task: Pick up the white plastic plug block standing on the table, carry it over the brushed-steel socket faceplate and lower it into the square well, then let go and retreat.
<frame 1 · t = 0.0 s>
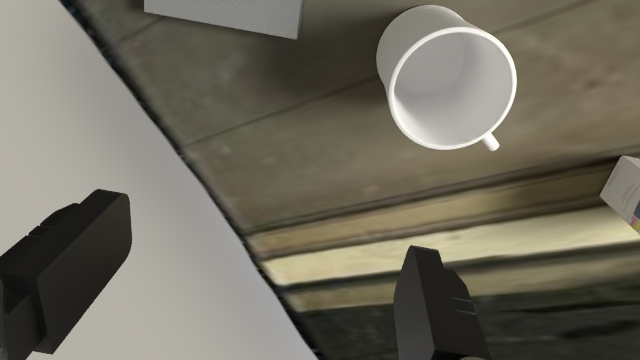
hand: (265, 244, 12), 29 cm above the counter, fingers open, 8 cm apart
mug: (432, 70, 38), on the counter
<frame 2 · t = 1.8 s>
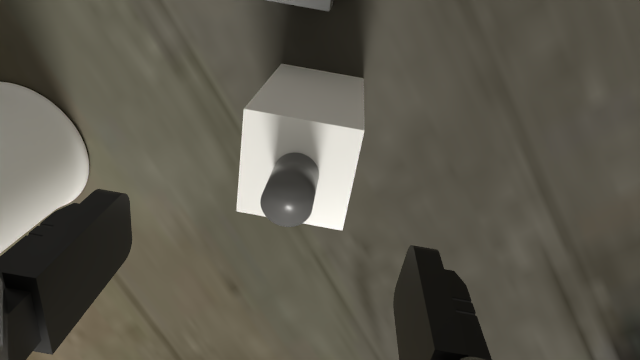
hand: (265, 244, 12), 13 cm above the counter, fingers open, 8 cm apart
mug: (12, 160, 27), on the counter
plug: (316, 110, 23), on the counter
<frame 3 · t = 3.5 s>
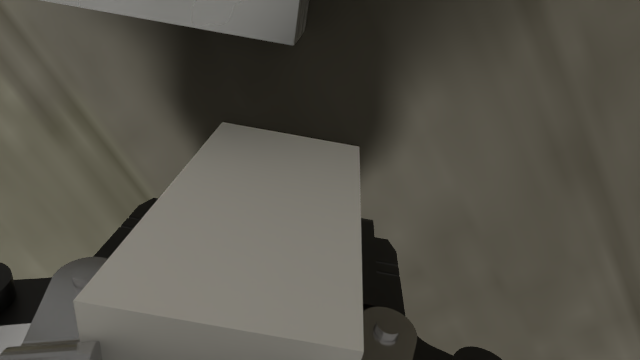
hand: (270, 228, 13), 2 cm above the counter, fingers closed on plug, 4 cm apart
plug: (282, 193, 14), on the counter, touching gripper
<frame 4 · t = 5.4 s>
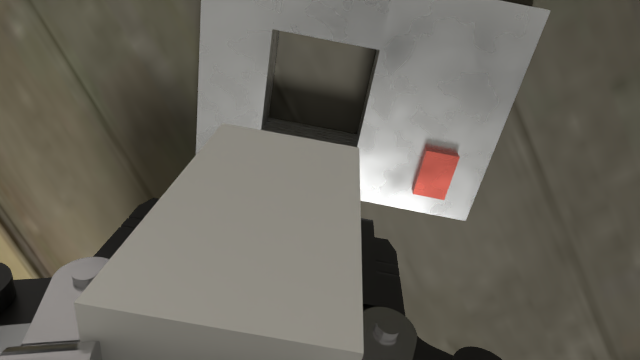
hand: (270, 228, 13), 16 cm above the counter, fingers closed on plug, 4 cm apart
plug: (282, 194, 14), point 14 cm above the counter, touching gripper
socket plate: (351, 87, 26), on the counter
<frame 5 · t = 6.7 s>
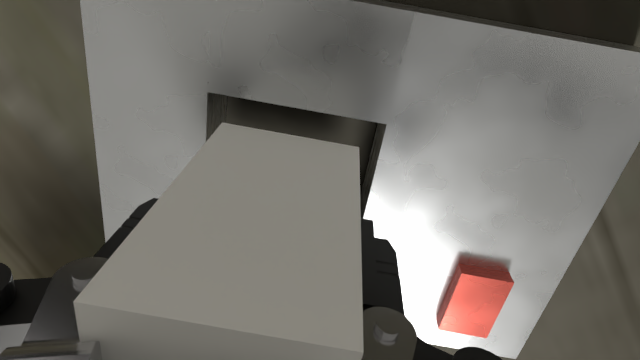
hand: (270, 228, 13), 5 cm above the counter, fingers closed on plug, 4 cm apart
plug: (282, 194, 14), point 3 cm above the counter, touching gripper
socket plate: (342, 166, 17), on the counter
when the fingers open (3 cm above the counter, at t = 7.5 s): plug stays where it is, resting in socket plate.
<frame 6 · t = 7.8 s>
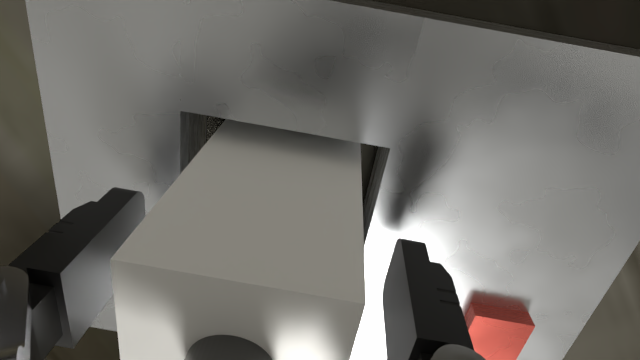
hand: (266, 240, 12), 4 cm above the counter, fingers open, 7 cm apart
plug: (287, 180, 15), resting in socket plate
socket plate: (339, 190, 15), on the counter
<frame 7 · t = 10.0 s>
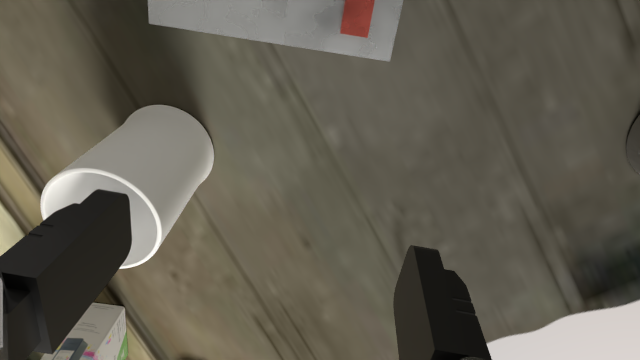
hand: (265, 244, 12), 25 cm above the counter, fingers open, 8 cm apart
mug: (157, 157, 39), on the counter
ink box: (108, 326, 50), on the counter
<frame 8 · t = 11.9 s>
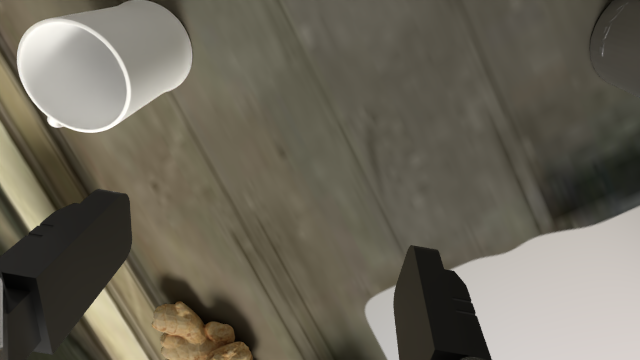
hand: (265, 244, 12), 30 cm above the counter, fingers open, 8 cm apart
mug: (138, 57, 40), on the counter
ginger root: (214, 339, 58), on the counter
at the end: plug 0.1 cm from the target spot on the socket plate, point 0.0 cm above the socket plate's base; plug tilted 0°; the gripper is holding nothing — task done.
